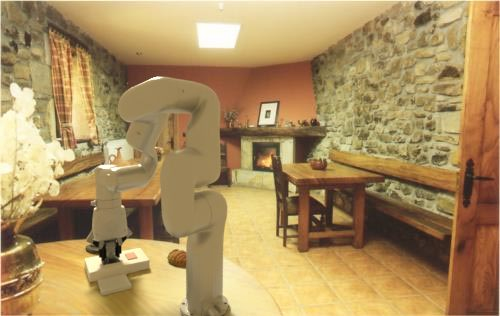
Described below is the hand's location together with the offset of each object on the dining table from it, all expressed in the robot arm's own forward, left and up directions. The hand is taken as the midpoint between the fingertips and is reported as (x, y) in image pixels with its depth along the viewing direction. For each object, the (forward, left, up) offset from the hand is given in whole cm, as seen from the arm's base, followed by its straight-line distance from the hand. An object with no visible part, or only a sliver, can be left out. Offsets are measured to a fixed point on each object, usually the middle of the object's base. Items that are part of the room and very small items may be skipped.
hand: (110, 257), depth 104 cm
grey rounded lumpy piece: (+20, 0, -5) cm, 20 cm away
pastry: (-6, -22, -5) cm, 23 cm away
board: (0, -2, -4) cm, 5 cm away
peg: (0, 0, -2) cm, 2 cm away
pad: (-12, +1, -4) cm, 13 cm away
